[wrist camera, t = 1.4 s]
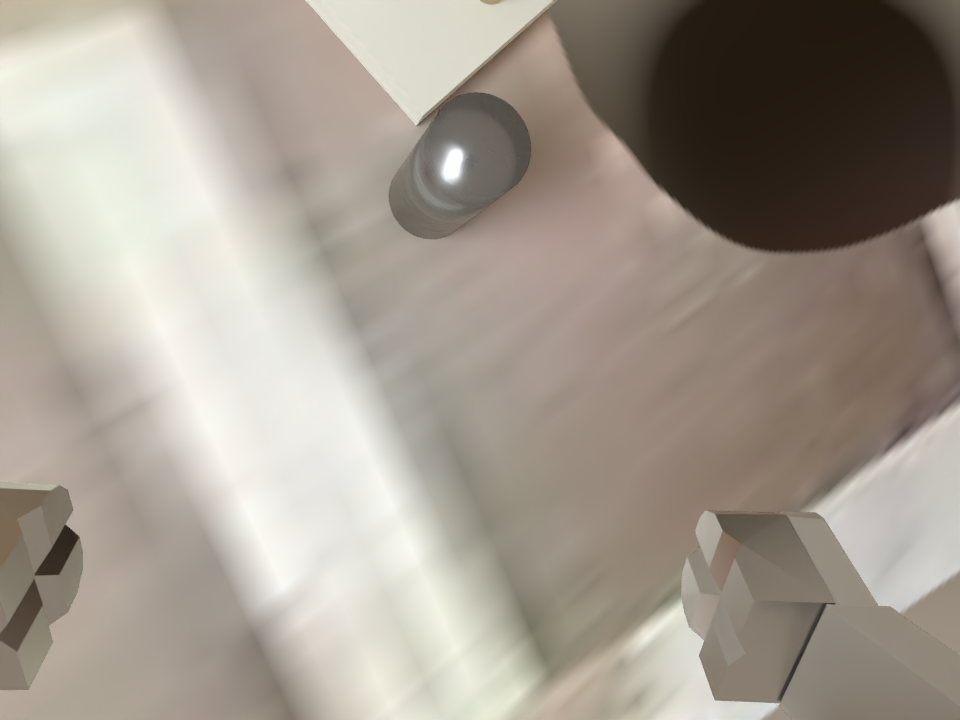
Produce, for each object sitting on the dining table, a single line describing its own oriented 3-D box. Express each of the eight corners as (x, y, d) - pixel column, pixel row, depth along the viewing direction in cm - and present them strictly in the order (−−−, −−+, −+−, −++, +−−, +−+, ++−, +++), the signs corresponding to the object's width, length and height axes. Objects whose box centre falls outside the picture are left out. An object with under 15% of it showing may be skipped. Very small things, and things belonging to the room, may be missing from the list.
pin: (371, 193, 38) (408, 137, 29) (430, 141, 38) (482, 71, 30) (428, 255, 38) (480, 218, 30) (484, 203, 39) (551, 151, 30)
